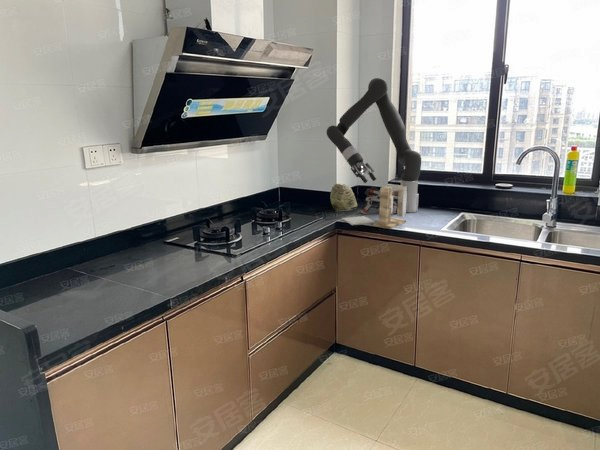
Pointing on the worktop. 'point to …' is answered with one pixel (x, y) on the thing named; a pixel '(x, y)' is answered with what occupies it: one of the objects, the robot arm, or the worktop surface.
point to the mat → (358, 220)
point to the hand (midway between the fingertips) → (370, 181)
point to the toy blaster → (375, 196)
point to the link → (399, 198)
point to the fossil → (342, 198)
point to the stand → (387, 210)
